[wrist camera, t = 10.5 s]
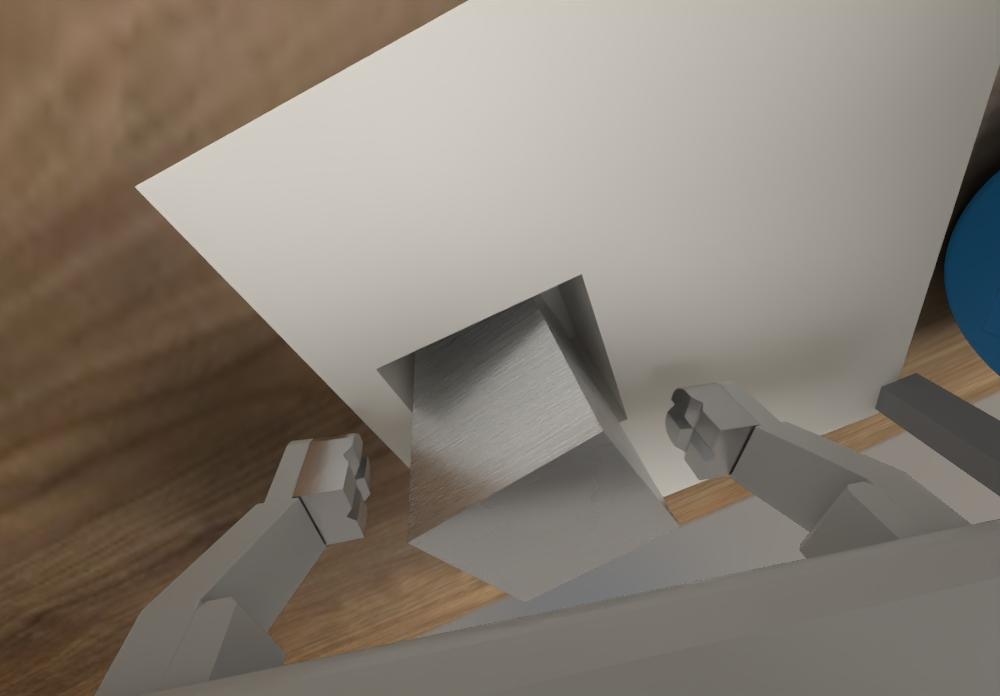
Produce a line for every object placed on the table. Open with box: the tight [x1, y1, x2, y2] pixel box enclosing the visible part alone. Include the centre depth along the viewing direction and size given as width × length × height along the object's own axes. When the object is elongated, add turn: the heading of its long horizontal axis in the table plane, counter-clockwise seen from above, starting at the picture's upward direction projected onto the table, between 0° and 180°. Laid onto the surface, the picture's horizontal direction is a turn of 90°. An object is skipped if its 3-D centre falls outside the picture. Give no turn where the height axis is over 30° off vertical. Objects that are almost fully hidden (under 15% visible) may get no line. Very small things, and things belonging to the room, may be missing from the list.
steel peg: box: [407, 294, 680, 602], centre depth 11 cm, size 4×4×9 cm
